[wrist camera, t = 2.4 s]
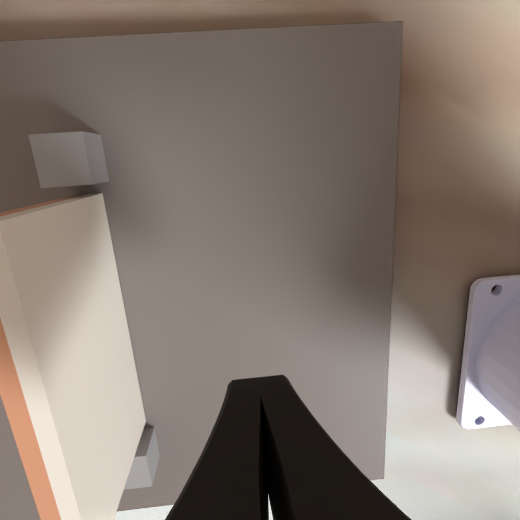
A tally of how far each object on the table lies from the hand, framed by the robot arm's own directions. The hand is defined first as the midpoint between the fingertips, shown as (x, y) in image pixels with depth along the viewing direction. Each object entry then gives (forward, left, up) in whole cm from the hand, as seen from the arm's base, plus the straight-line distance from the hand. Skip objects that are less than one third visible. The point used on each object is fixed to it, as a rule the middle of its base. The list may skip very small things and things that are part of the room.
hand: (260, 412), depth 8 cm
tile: (+6, 0, -6) cm, 9 cm away
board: (+5, 0, -7) cm, 9 cm away
